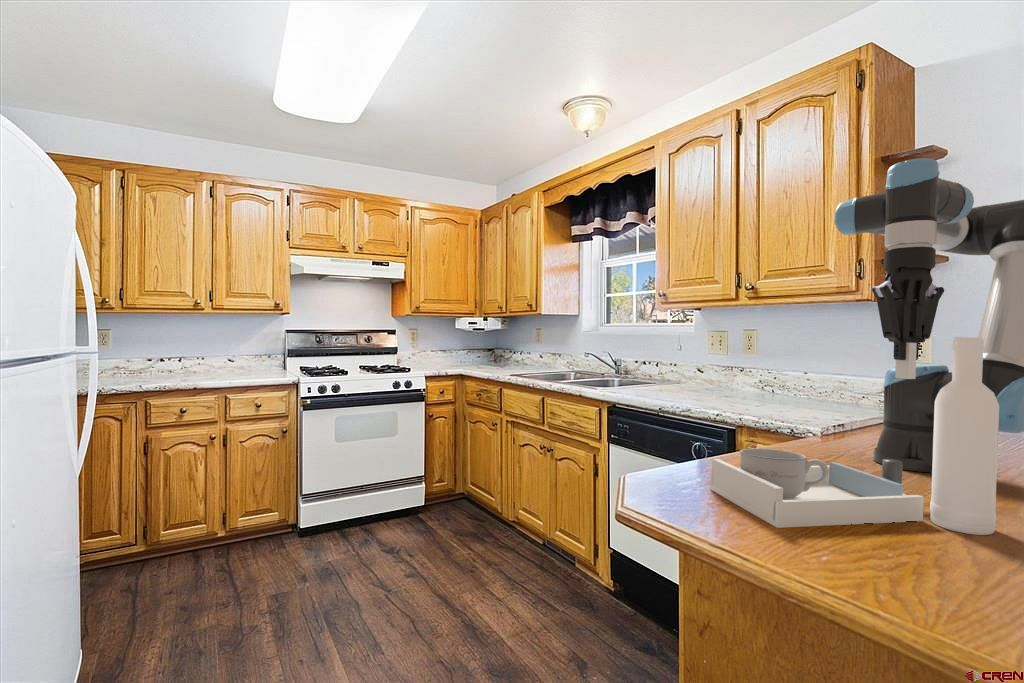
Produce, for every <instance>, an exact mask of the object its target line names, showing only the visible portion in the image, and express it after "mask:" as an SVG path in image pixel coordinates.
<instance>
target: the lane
mask: <svg viewBox="0 0 1024 683" xmlns="http://www.w3.org/2000/svg"><path fill="white" fill-rule="evenodd" d="M826 465H827V464H826ZM827 467H828V470H829V464H828V465H827ZM709 472H710V475H709V478H710V479H709V480H710V481H709V489H710V490H711V491H712V492H714V493H716V494H718V495H719V496H721V497H723V498H724V499H726V500H728V501H730V502H731V503H733V504H735V505H737V506H738V507H740V508H741V509H743V510H745V511H747V512H749V513H750V514H752V515H754V516H756V517H757V518H759V519H761V520H762V521H764V522H766V523H768V524H770V525H771V526H773V527H775V528H776V529H778V528H780V529H783V528H784V529H785V528H803V527H807V528H808V527H825V526H827V527H828V526H845V525H846V526H849V525H851V524H852V525H865V524H864V523H873V524H889V523H890V524H891V523H892V522H895V523H907V522H906V521H917V522H923V521H924V501H925V500H924V496H922V495H919V494H911V495H910V494H909V495H908V494H905V493H903V496H876V497H864V496H862V495H859V494H857V493H854V492H851V491H849V490H846V489H844V488H841V487H839V486H836V485H833V484H831V483H829V474H828V477H827V479H826V480H825V481H823V482H822V483H820V484H818V485H816V486H813V487H810V489H809V490H808V491H805V492H802V493H800V494H799V495H797V496H796V497H795V498H794V499H792V500H783V488H781V487H779V486H777V485H775V484H772V483H770V482H768V481H766V480H764V479H761V478H759V477H757V476H755V475H753V474H750V473H748V472H746V471H744V470H742V469H740V467H737V466H735V465H733V464H730V463H728V462H726V461H724V460H722V459H719V458H712V459H711V468H710V471H709ZM821 474H822V469H821V467H820V466H818V465H812V466H811V467H810V468H809V471H808V473H806V479H805V481H806V482H808V481H813V480H815V479H817V478H819V477H820V476H821Z"/></svg>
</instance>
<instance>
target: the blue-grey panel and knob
mask: <svg viewBox="0 0 1024 683" xmlns="http://www.w3.org/2000/svg"><path fill="white" fill-rule="evenodd" d="M828 465H829V483H831V484H833V485H836V486H839V487H841V488H844V489H846V490H849V491H851V492H854V493H857V494H859V495H862V496H864V497H876V496H903V494H904V489H903V488H904V485H903V469H902V468H903V462H902V461H899V460H894V459H882V464H881V476H878V475H876V474H875V475H874V474H872V473H870V472H867V471H862V470H860V469H857V468H854V467H851V466H848V465H845V464H841V463H839V462H835V461H831V462H829V463H828Z"/></svg>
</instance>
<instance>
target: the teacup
mask: <svg viewBox="0 0 1024 683" xmlns="http://www.w3.org/2000/svg"><path fill="white" fill-rule="evenodd" d="M739 454H740V467H739V468H740V469H742V470H744V471H746V472H748V473H750V474H753V475H755V476H757V477H759V478H761V479H764V480H766V481H768V482H770V483H772V484H775V485H777V486H779V487H781V488H783V500H792V499H794V498H795V497H796V496H797V495H799V494H800V493H802V492H805V491H808V490H809V489H810V487H813V486H816V485H818V484H820V483H822V482H823V481H825V480H826V479H827V477H828V474H829V470H828V467H827V463H825V462H824V461H822V460H821V459H818V458H811V459H809V460H807V458H808V457H807V456H806V455H804V454H802V453H797V452H794V451H789V450H782V449H775V448H772V449H771V448H755V447H754V448H753V447H752V448H743V449H740V450H739ZM811 466H820V467H821V469H822V474H821V476H820V477H819V478H817V479H815V480H813V481H808V482H806V481H805V479H806V473H808V471H809V468H810V467H811Z"/></svg>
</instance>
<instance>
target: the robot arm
mask: <svg viewBox="0 0 1024 683" xmlns="http://www.w3.org/2000/svg"><path fill="white" fill-rule="evenodd" d="M939 170H940V169H939V162H938V161H937V160H936V159H933V158H928V157H926V158H925V157H924V158H923V157H922V158H913V159H908V160H904V161H899V162H897V163H895V164H893V165H891V166H890V167H889V168H888V170H887V173H886V181H885V182H886V183H885V186H884V189H885V192H881V193H875V194H869V195H864V196H857V197H856V196H855V197H853V198H850V199H846V200H844V201H841V202H840V203H839V204H838V205H837V207H836V209H835V212H834V223H835V224H834V225H835V227H836V229H837V231H838V232H840V233H841V234H842V235H846V236H847V235H859V234H866V233H867V234H872V235H873V234H874V235H878V236H884V248H885V249H886V250H885V252H884V253H883V270H884V271H886V275H885V277H884V278H883V280H884V281H883V282H882V283H881V284H880V285H875V286H872V287H871V292H872V293H873V295H874V297H875V298H876V302H877V309H878V315H879V321H880V324H881V325H880V326H881V331H882V336H883V338H885V339H887V340H888V341H889V342H891V343H893V360H895V367H891V368H889V369H888V370H887V371H886V373H885V375H884V383H883V423H882V424H883V425H882V431H881V434H880V435H879V438H878V442H877V444H876V446H875V447H874V449H873V452H872V453H873V461H874V462H876V463H877V464H881V465H882V459H894V460H899V461H902V462H903V468H902V470H907V471H913V472H919V473H931V474H932V464H933V435H934V406H935V399H936V397H937V395H938V393H939V391H940V389H941V388H942V387H944V386H945V385H947V384H948V383H950V382H951V381H952V371H950V370H949V368H948V366H947V365H945V364H943V365H942V364H941V365H925V366H924V365H923V366H921V365H920V366H917V361H918V360H919V351H920V350H919V349H920V343H923V344H924V343H925V341H926V340H929V339H930V338H931V335H932V330H933V327H934V321H935V318H936V313H937V310H938V306H939V301H940V299H941V298H942V296H943V295H944V293H945V288H944V287H943V286H940V287H939V286H936V285H935V284H934V283H933V277H932V275H931V274H932V273H931V271H932V270H933V269H934V268H936V259H937V258H936V256H937V255H936V254H937V253H936V252H937V251H938V252H944V253H951V254H957V255H958V254H959V255H966V256H990V258H991V259H992V260H993V261H994V262H995V267H994V270H993V276H992V279H991V284H990V287H989V291H988V295H987V300H986V303H985V308H984V311H983V314H982V315H983V316H982V319H981V323H980V328H979V331H978V335H977V338H982V339H984V340H983V344H984V346H985V349H984V350H983V367H982V383H983V384H984V385H985V386H986V387H988V388H989V389H990V390H991V391H992V392H994V394H995V397H996V399H997V402H998V404H999V427H998V433H1009V434H1019V433H1020V434H1021V433H1024V199H1021V200H1019V199H1018V200H1014V201H1008V202H999V203H995V204H994V203H993V204H988V205H987V204H986V205H980V206H976V207H973V206H974V203H975V197H974V194H973V192H972V191H971V190H970V189H969V188H968V187H966V186H964V185H963V184H962V183H959V182H956V181H954V182H953V181H950V180H946V179H944V178H943V179H942V178H940V177H939V176H940V175H941V173H940V172H941V171H939ZM887 249H888V250H887Z"/></svg>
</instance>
